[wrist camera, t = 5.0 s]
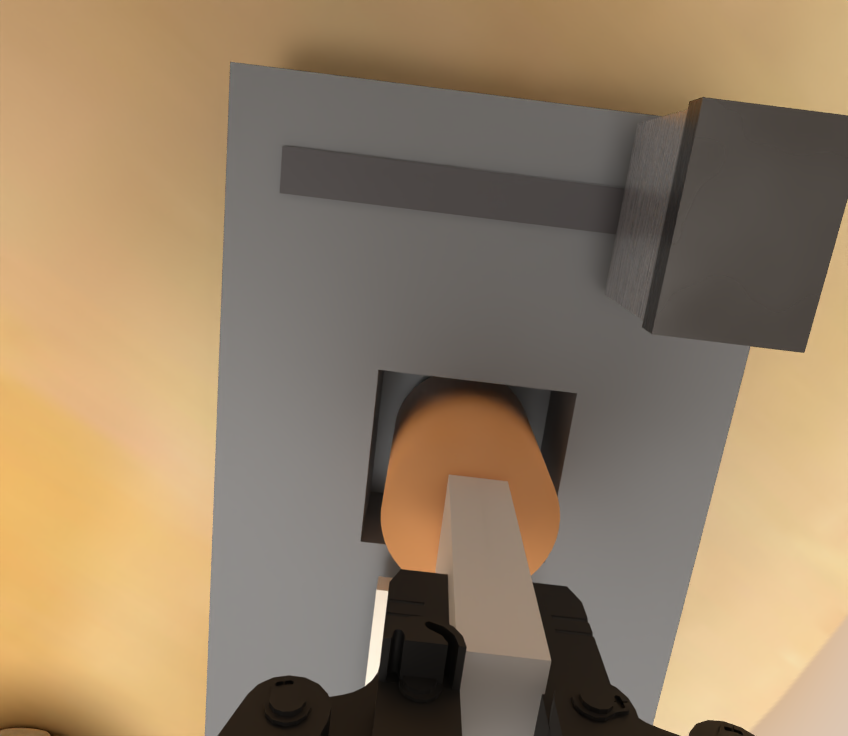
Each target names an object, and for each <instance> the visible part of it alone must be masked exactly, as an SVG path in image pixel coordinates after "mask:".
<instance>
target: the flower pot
mask: <svg viewBox="0 0 848 736" xmlns="http://www.w3.org/2000/svg"><path fill="white" fill-rule="evenodd" d="M0 736H51V735H50V734H49V733H48V732H47V731H44V730H39V729H32V728H10V729H3V730H0Z"/></svg>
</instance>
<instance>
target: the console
mask: <svg viewBox="0 0 848 736" xmlns="http://www.w3.org/2000/svg"><path fill="white" fill-rule="evenodd" d="M658 117H662V116H656V115H648V114H640V113H632V112H624V111H616V110H608V109H600V108H592V107H584V106H576V105H568V104H560V103H552V102H545V101H537V100H529V99H521V98H513V97H505V96H497V95H489V94H481V93H473V92H465V91H457V90H449V89H441V88H434V87H426V86H418V85H410V84H402V83H394V82H386V81H378V80H370V79H362V78H354V77H346V76H338V75H330V74H323V73H315V72H307V71H299V70H291V69H283V68H275V67H267V66H259V65H251V64H243V63H235V62H230V84H229V111H228V137H227V164H226V190H225V217H224V243H223V270H222V296H221V323H220V349H219V376H218V402H217V429H216V455H215V482H214V508H213V535H212V561H211V588H210V614H209V641H208V667H207V694H206V720H205V736H218V734H219V733H220V732H221V730H222V729H223V727H224V726H225V725H226V723H227V722H228V720H229V719H230V718H231V716H232V715H233V714H234V712H235V711H236V709H237V708H238V707H239V705H240V704H241V702H242V701H243V700H244V698H245V697H246V696H247V694H248V693H249V692H250V691H251V690H253V689H254V688H255V687H256V686H257V685H258V684H260V683H262V682H264V681H266V680H269V679H271V678H273V677H280V676H287V675H292V676H299V677H306V678H308V679H310V680H312V681H314V682H316V683H318V684H319V685H320V686H321V687H322V688H323V689H324V690H325V691H326V692H327V693H328V695H329V697H331V696H338V695H343V694H347V693H351V692H354V691H356V690H359V689H361V688H363V687H364V686H365V681H366V672H367V664H368V656H369V647H370V639H371V631H372V622H373V614H374V606H375V597H376V589H377V583H378V577H379V576H381V577H390V578H393V577H394V576H395V575H396V574H397V573H398V572H399V571H400V569H401V568H400V567H399V565H398V564H397V563H396V562H395V560H394V559H393V557H392V556H391V554H390V552H389V550H388V548H387V546H386V543H385V541H384V537H383V533H382V527H381V507H382V501H383V495H384V489H385V483H386V476H387V470H388V464H389V458H390V452H391V446H392V440H393V434H394V428H395V422H396V418H397V415H398V412H399V409H400V407H401V405H402V403H403V402H404V400H405V399H406V397H407V396H408V395H409V394H410V392H411V391H412V390H413V389H414V388H415V387H417V386H418V385H419V384H420V383H422V382H423V381H425V380H426V379H428V378H430V377H432V376H436V377H444V378H453V379H461V380H469V381H478V382H486V383H495V384H503V385H506V386H507V387H508V388H510V389H511V391H512V392H513V393H514V394H515V395H516V396H517V398H518V399H519V401H520V402H521V404H522V406H523V408H524V411H525V413H526V416H527V418H528V421H529V423H530V426H531V428H532V431H533V434H534V436H535V439H536V441H537V444H538V446H539V449H540V452H541V454H542V457H543V459H544V462H545V464H546V467H547V470H548V472H549V475H550V477H551V480H552V482H553V485H554V487H555V490H556V494H557V497H558V501H559V507H560V524H559V531H558V535H557V538H556V541H555V544H554V546H553V548H552V550H551V552H550V554H549V555H548V557H547V559H546V560H545V561H544V563H543V564H542V565H541V566H540V568H539V569H538V570H537V571H535V572H534V573H533V574H532V575H531V579H532V582H534V583H542V584H551V585H560V586H567V587H568V588H569V589H570V590H571V591H572V592H573V593H574V594H575V595H576V596H577V597H578V598H579V600H580V601H581V602H582V604H583V606H584V609H585V612H586V615H587V618H588V623H589V624H590V626H591V629H592V632H593V637H594V638H595V641H596V644H597V646H598V649H599V652H600V655H601V658H602V661H603V664H604V666H605V669H606V672H607V675H608V678H609V681H610V684H611V685H613V686H615V687H617V688H618V689H619V690H620V691H621V692H622V693H623V694H625V695H626V696H627V697H628V698H629V700H630V701H631V703H632V705H633V706H634V708H635V709H636V712H637V715H638V717H639V718H640V719H641V720H643V721H645V722H646V723H648V724H651V725H653V721H654V718H655V714H656V710H657V706H658V702H659V698H660V694H661V691H662V687H663V683H664V679H665V675H666V671H667V667H668V663H669V660H670V656H671V652H672V648H673V644H674V640H675V636H676V632H677V629H678V625H679V621H680V617H681V613H682V609H683V605H684V601H685V598H686V594H687V590H688V586H689V582H690V578H691V574H692V570H693V567H694V563H695V559H696V555H697V551H698V547H699V543H700V540H701V536H702V532H703V528H704V524H705V520H706V516H707V512H708V509H709V505H710V501H711V497H712V493H713V489H714V485H715V481H716V478H717V474H718V470H719V466H720V462H721V458H722V454H723V450H724V447H725V443H726V439H727V435H728V431H729V427H730V423H731V420H732V416H733V412H734V408H735V404H736V400H737V396H738V392H739V389H740V385H741V381H742V377H743V373H744V369H745V365H746V361H747V358H748V354H749V350H750V346H744V345H736V344H728V343H720V342H711V341H703V340H695V339H686V338H678V337H670V336H662V335H653V334H651V333H649V332H648V331H646V330H645V329H644V328H642V324H643V320H642V319H640V318H639V317H637V316H636V315H634V314H633V313H631V312H630V311H628V310H627V309H625V308H624V307H622V306H621V305H619V304H618V303H616V302H615V301H613V300H612V299H610V298H609V297H607V296H606V295H605V290H606V285H607V279H608V274H609V269H610V264H611V259H612V254H613V248H614V243H615V238H616V233H617V228H618V223H619V217H620V212H621V207H622V202H623V197H624V192H625V186H626V181H627V176H628V171H629V166H630V161H631V155H632V150H633V145H634V140H635V135H636V130H637V124H638V123H641V122H644V121H648V120H651V119H655V118H658Z"/></svg>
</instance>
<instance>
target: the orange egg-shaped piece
mask: <svg viewBox="0 0 848 736" xmlns="http://www.w3.org/2000/svg"><path fill="white" fill-rule="evenodd" d="M449 475H458V476H467V477H475V478H484V479H492V480H501V481H508V484H509V488H510V492H511V496H512V500H513V505H514V509H515V513H516V517H517V521H518V525H519V529H520V533H521V538H522V542H523V546H524V550H525V554H526V558H527V562H528V566H529V570H530V575H532V574H533V573H534V572H535V571H537V570H538V569H539V568H540V566H541V565H542V564H543V563H544V561H545V560H546V559H547V557H548V555H549V554H550V552H551V550H552V548H553V546H554V544H555V541H556V538H557V535H558V531H559V524H560V507H559V501H558V497H557V494H556V490H555V487H554V485H553V482H552V480H551V477H550V475H549V472H548V470H547V467H546V464H545V462H544V459H543V457H542V454H541V452H540V449H539V446H538V444H537V441H536V439H535V436H534V434H533V431H532V428H531V426H530V423H529V421H528V418H527V416H526V413H525V411H524V408H523V406H522V404H521V402H520V401H519V399H518V398H517V396H516V395H515V394H514V393H513V392H512V391H511V389H510V388H508V387H507V386H506V385H503V384H495V383H486V382H478V381H469V380H461V379H453V378H444V377H436V376H432V377H430V378H428V379H426V380H425V381H423V382H422V383H420V384H419V385H418V386H417V387H415V388H414V389H413V390H412V391H411V392H410V394H409V395H408V396H407V397H406V399H405V400H404V402H403V403H402V405H401V407H400V409H399V412H398V415H397V418H396V422H395V428H394V434H393V440H392V446H391V452H390V458H389V464H388V470H387V476H386V483H385V489H384V495H383V501H382V507H381V527H382V533H383V537H384V541H385V543H386V546H387V548H388V550H389V552H390V554H391V556H392V557H393V559H394V560H395V562H396V563H397V564H398V565H399V567H400V568H401V569H405V570H414V571H422V572H431V573H435V569H436V562H437V555H438V548H439V541H440V533H441V526H442V519H443V512H444V505H445V498H446V491H447V484H448V476H449Z"/></svg>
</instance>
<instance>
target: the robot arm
mask: <svg viewBox="0 0 848 736" xmlns="http://www.w3.org/2000/svg"><path fill="white" fill-rule="evenodd" d="M218 736H679V735H677V734H674V733H671V732H668V731H666V730H663V729H660V728H658V727H655V726H653V725H651V724H648V723H646V722H645V721H643V720H641V719H640V718H639V717H638V715H637V712H636V709H635V708H634V706H633V705H632V703H631V701H630V700H629V698H628V697H627V696H626V695H625V694H623V693H622V692H621V691H620V690H619V689H618V688H617V687H615V686H613V685H611V684H610V681H609V678H608V675H607V672H606V669H605V666H604V664H603V661H602V658H601V655H600V652H599V649H598V646H597V644H596V641H595V638H594V637H593V632H592V629H591V626H590V624H589V623H588V618H587V615H586V612H585V609H584V606H583V604H582V602H581V601H580V600H579V598H578V597H577V596H576V595H575V594H574V593H573V592H572V591H571V590H570V589H569V588H568V587H567V586H560V585H551V584H542V583H534V582H532V579H531V575H530V570H529V566H528V562H527V558H526V554H525V550H524V546H523V542H522V538H521V533H520V529H519V525H518V521H517V517H516V513H515V509H514V505H513V500H512V496H511V492H510V488H509V484H508V481H501V480H492V479H484V478H475V477H467V476H458V475H449V476H448V484H447V491H446V498H445V505H444V512H443V519H442V526H441V533H440V541H439V548H438V555H437V562H436V569H435V573H431V572H422V571H414V570H405V569H400V571H399V572H398V573H397V574H396V575H395V576H394V577H393V579H392V580H391V581H390V582H389V590H388V598H387V606H386V615H385V623H384V631H383V640H382V648H381V657H380V665H379V669H378V673H377V674H376V675H375V677H374V678H373V680H372V681H371V682H369V683H368V684H367V685H366V686H364V687H363V688H361V689H359V690H356V691H354V692H351V693H347V694H343V695H338V696H331V697H329V695H328V693H327V692H326V691H325V690H324V689H323V688H322V687H321V686H320V685H319V684H318V683H316V682H314V681H312V680H310V679H308V678H306V677H299V676H292V675H287V676H280V677H273V678H271V679H269V680H266V681H264V682H262V683H260V684H258V685H257V686H256V687H255V688H254V689H253V690H251V691H250V692H249V693H248V694H247V696H246V697H245V698H244V700H243V701H242V702H241V704H240V705H239V707H238V708H237V709H236V711H235V712H234V714H233V715H232V716H231V718H230V719H229V720H228V722H227V723H226V725H225V726H224V727H223V729H222V730H221V732H220V733H219V734H218ZM689 736H754V735H753V734H751V733H750V732H748V731H746V730H744V729H743V728H741V727H738V726H735V725H733V724H730V723H727V722H724V721H712V720H707V721H704V722H701V723H697V724H696V725H695V726H694V727H693V729H692V730H691V731H690V733H689Z"/></svg>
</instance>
